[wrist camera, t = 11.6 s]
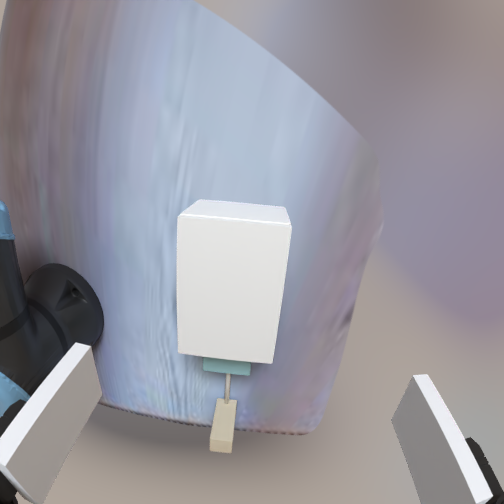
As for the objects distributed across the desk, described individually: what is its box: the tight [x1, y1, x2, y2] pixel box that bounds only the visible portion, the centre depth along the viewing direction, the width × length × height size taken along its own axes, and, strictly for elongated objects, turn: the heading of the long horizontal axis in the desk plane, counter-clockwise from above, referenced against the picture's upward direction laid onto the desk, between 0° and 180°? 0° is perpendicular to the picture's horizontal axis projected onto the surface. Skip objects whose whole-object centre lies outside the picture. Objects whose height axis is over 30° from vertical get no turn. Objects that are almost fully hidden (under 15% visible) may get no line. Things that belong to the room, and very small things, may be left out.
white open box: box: [177, 199, 292, 364], centre depth 35 cm, size 10×15×10 cm
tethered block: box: [203, 357, 251, 453], centre depth 41 cm, size 6×20×9 cm, turn 175°
